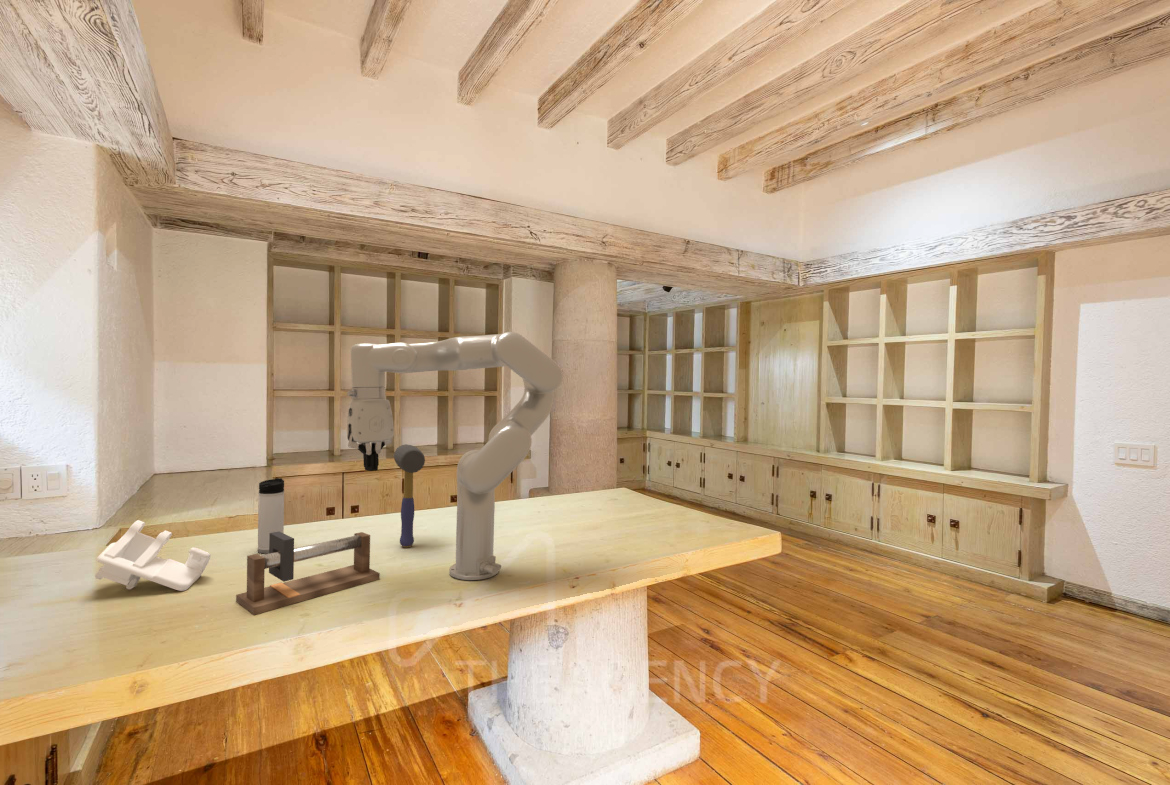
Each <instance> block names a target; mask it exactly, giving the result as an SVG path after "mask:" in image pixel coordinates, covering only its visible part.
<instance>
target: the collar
mask: <svg viewBox="0 0 1170 785" xmlns="http://www.w3.org/2000/svg"><path fill="white" fill-rule="evenodd" d="M294 548H295V538H294V537H292V536H290V535H288V534H285V533H281V532H279V531H278V532H273V533H270V534H269V554H270V553H275V552H278V551H279V552H280V566H275V567H271V568H268V573H269V574H270V575H272V576H273V577H275V578H277V579H278V580H280V581H281V582H282V583H285V582H289V581H292V580H294V575H295V574H294V568H295V567H294V566H295V562H294Z"/></svg>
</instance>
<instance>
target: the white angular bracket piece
mask: <svg viewBox="0 0 1170 785" xmlns="http://www.w3.org/2000/svg"><path fill="white" fill-rule="evenodd" d="M145 525H146V522H144V521H143V520H139V519H137V520H135V521H134V522H133V523H132V524H131V525H130V527H129V528H128V529H127V530H126V532H125V533H124V534H123V535H122V536H121V538H119V539H118V540H117V541H116V542H111V543H110V544H109V545H108V546H106V548H104V550H102V552H101V553H100V554H99V555H98V556H97V557H96V558H95V559H96V561H97V563H100V564H102V565H103V566H101V567H99V569H98V571H96V573H95V575H94V577H95V579H97V580H102V579H107V580H109V581H112V582H115V583H118V584H121V585H124V586H125V589H127V590H132V589H133V588H135V587H136V586H137V584H138V583H139V582H140V580H141V578H142V579H144V580H148V581H151V582H154V583H156V584H159V585H161V586H165V587H167V588H170V589H174V590H177V591H180V592H181V591H182V592H185V591H187V590H188V589H189V588H190V587H191V586H192V585H193V584H195V582H197V580H198V579H200V578H201V577H202V575H203V573H204V571H205V569H206V568H207V566H208V564H209V563H210V560H211V554H210V552H207V551H206V550H203V549H200V548H197V547H191V548H189V550H188V553H189V555H188V558H187V559H186V562H185V563H183V562H180V561H177V560H174V559H171V558H166V559H165V558H163V557H159V556H158V555H159V553H160V552H161V550H162V548H163V547H164V545H166V544H167V542H168V541H169V540H170V538H171V537H172V535H173V532H171V531H168V530H166V529H165V530H164V531H162V532H160V533H159V534H158V535H157V536H156V538H155V537H152V536H150V535H147V534H144V533H142V530H143V528H144V527H145Z"/></svg>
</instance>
